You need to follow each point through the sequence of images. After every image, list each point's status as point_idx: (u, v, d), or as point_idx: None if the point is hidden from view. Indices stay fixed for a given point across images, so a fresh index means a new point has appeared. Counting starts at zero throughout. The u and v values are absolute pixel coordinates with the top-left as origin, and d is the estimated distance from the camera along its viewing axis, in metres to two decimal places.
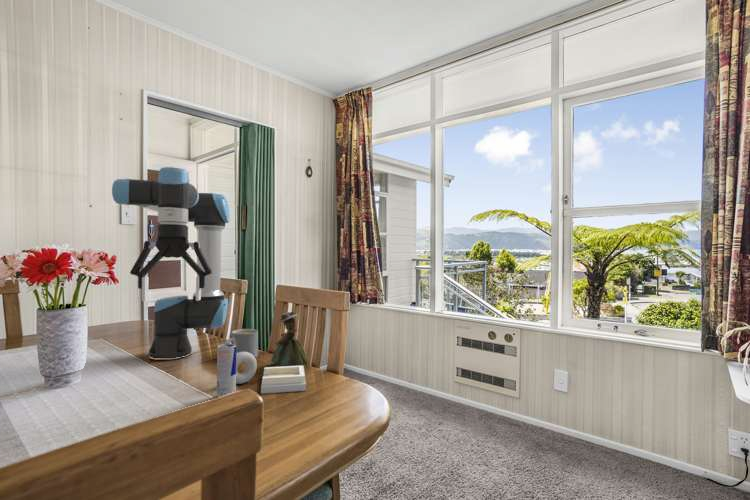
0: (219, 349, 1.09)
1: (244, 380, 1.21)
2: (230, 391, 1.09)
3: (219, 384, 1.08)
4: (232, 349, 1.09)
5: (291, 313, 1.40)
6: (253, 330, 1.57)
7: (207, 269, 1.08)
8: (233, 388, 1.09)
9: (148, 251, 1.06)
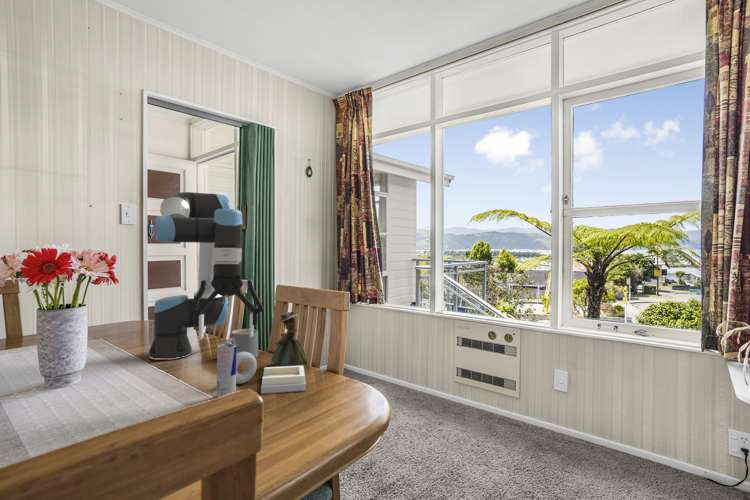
0: (219, 349, 1.09)
1: (244, 380, 1.21)
2: (230, 391, 1.09)
3: (219, 384, 1.08)
4: (232, 349, 1.09)
5: (291, 313, 1.40)
6: (253, 330, 1.57)
7: (260, 306, 1.12)
8: (233, 388, 1.09)
9: (204, 290, 1.09)
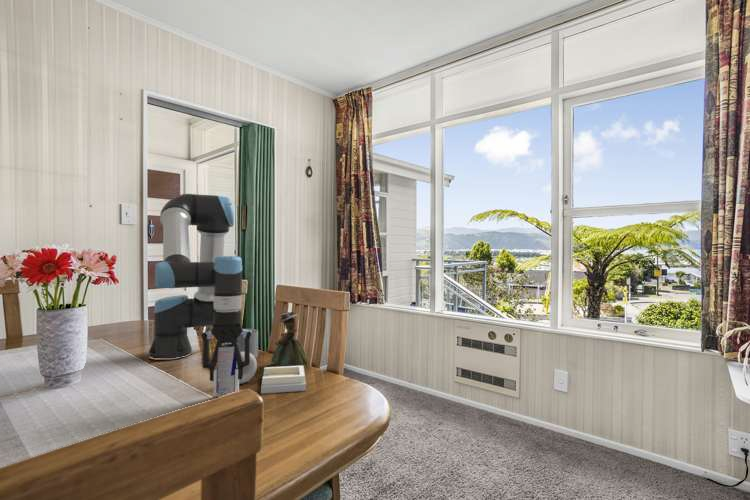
0: (219, 349, 1.09)
1: (244, 380, 1.21)
2: (230, 391, 1.09)
3: (219, 384, 1.08)
4: (232, 349, 1.09)
5: (291, 313, 1.40)
6: (253, 330, 1.57)
7: (247, 361, 1.11)
8: (233, 388, 1.10)
9: (208, 341, 1.09)
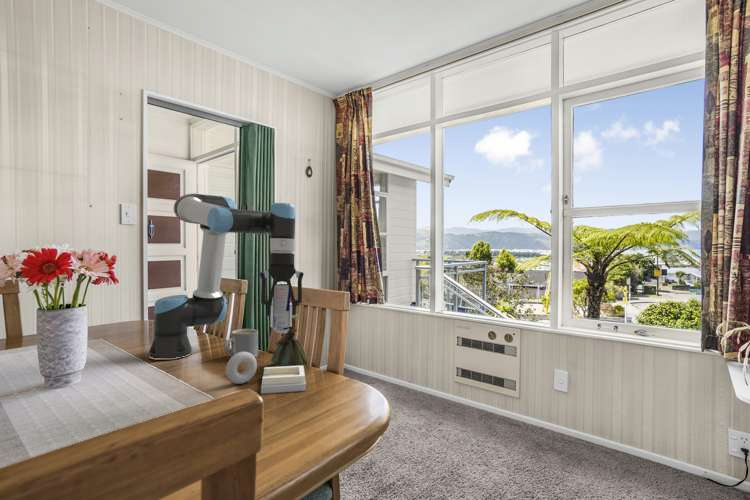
0: (276, 287, 1.20)
1: (244, 380, 1.21)
2: (285, 325, 1.20)
3: (275, 318, 1.19)
4: (287, 287, 1.20)
5: None
6: (253, 330, 1.57)
7: (300, 298, 1.22)
8: (287, 323, 1.21)
9: (265, 280, 1.20)
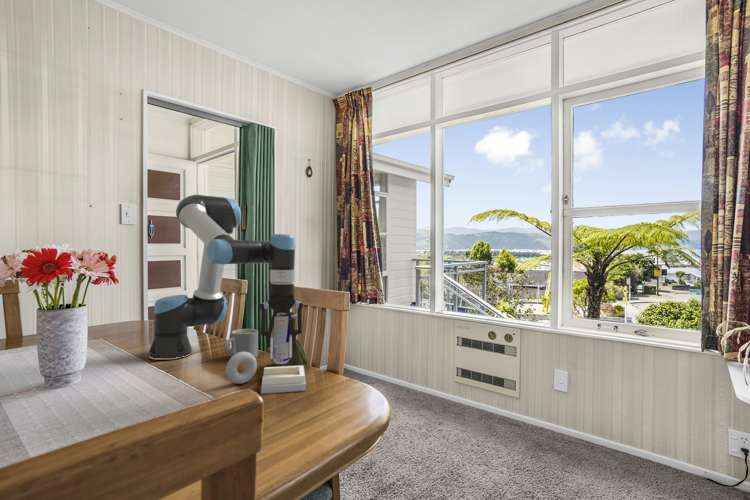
0: (275, 318, 1.20)
1: (244, 380, 1.21)
2: (285, 356, 1.20)
3: (275, 349, 1.19)
4: (287, 318, 1.20)
5: (291, 313, 1.40)
6: (253, 330, 1.57)
7: (300, 329, 1.22)
8: (287, 354, 1.21)
9: (265, 311, 1.20)
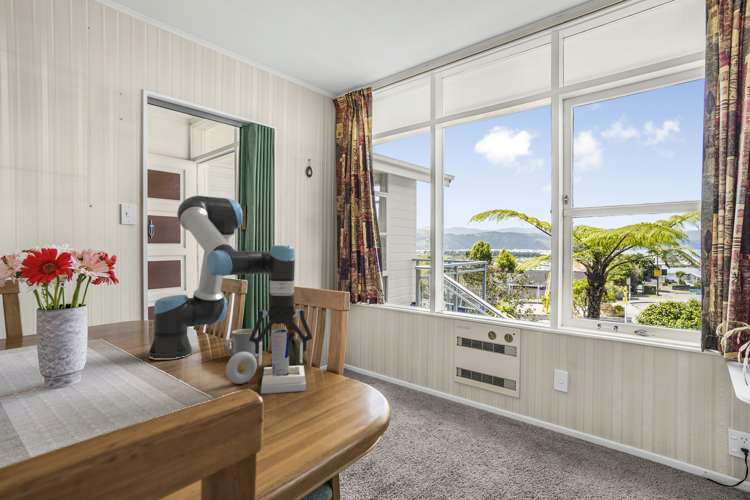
0: (274, 334, 1.19)
1: (244, 380, 1.21)
2: (284, 371, 1.20)
3: (274, 365, 1.19)
4: (285, 334, 1.20)
5: None
6: None
7: (309, 334, 1.23)
8: (286, 369, 1.20)
9: None
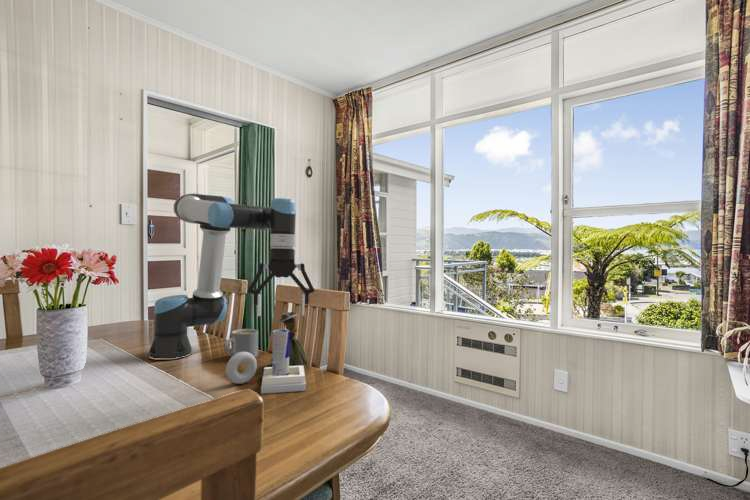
0: (275, 334, 1.20)
1: (244, 380, 1.21)
2: (284, 371, 1.20)
3: (274, 365, 1.19)
4: (286, 334, 1.20)
5: (291, 313, 1.40)
6: (253, 330, 1.57)
7: (311, 287, 1.23)
8: (287, 369, 1.21)
9: None
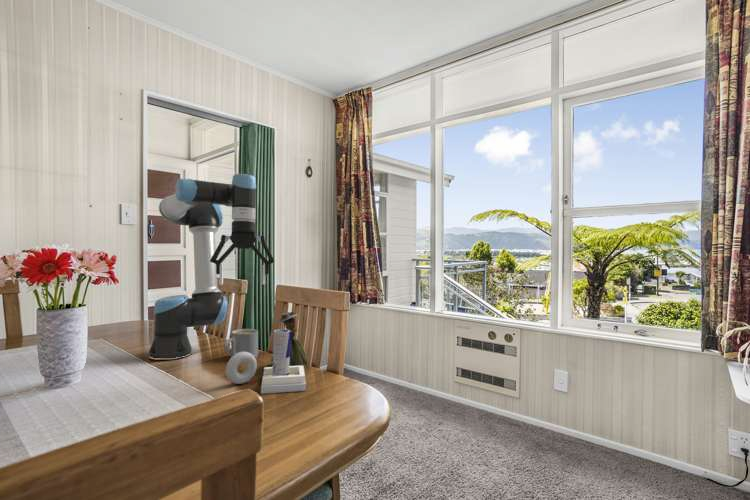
0: (276, 333, 1.20)
1: (244, 380, 1.21)
2: (284, 371, 1.20)
3: (275, 365, 1.19)
4: (287, 334, 1.20)
5: (291, 313, 1.40)
6: (253, 330, 1.57)
7: (271, 258, 1.31)
8: (287, 369, 1.21)
9: (224, 243, 1.28)
